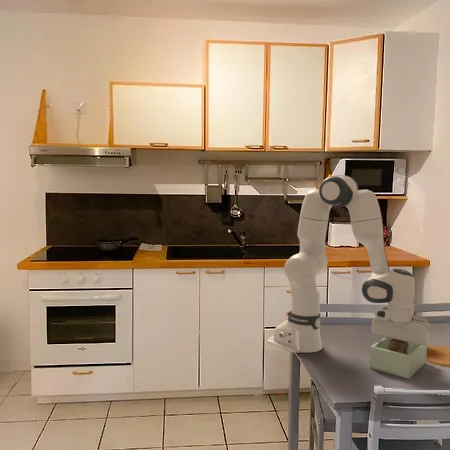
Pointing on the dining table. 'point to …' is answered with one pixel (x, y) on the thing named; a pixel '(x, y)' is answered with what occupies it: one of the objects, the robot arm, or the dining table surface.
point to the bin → (397, 359)
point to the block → (398, 346)
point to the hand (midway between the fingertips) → (398, 350)
